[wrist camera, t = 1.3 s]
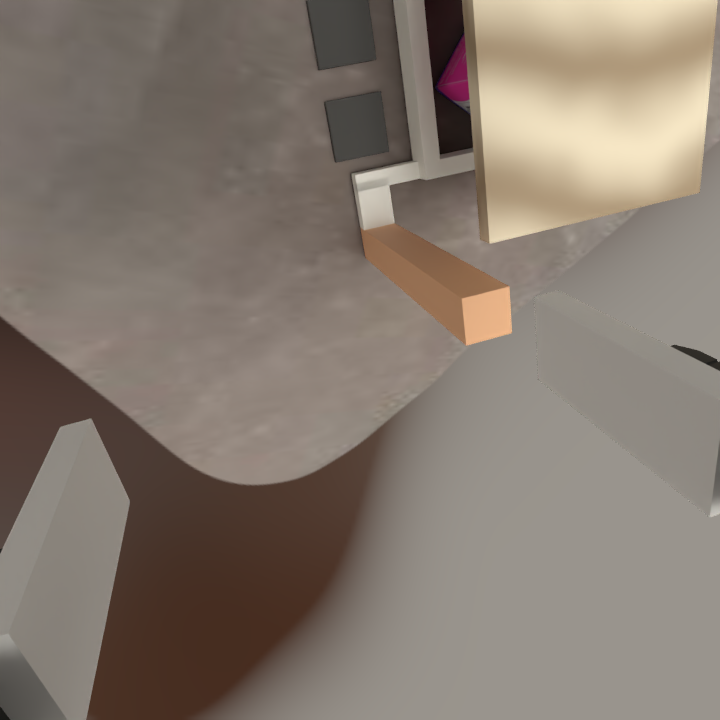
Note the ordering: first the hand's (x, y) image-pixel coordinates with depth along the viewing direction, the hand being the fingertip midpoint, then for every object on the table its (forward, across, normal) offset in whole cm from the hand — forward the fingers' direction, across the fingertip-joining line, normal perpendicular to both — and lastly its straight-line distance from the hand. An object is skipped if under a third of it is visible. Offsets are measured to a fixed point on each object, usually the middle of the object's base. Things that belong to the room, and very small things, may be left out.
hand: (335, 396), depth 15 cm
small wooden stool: (+28, +19, +7) cm, 35 cm away
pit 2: (+28, +9, +5) cm, 30 cm away
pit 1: (+28, +9, +11) cm, 32 cm away
